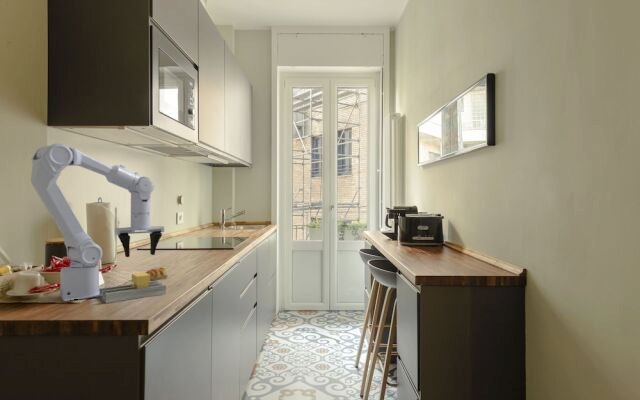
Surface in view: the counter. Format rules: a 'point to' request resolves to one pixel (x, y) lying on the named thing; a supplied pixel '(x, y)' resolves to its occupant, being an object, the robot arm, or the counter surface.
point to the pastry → (157, 274)
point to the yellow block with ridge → (141, 279)
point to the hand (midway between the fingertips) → (140, 255)
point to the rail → (130, 292)
